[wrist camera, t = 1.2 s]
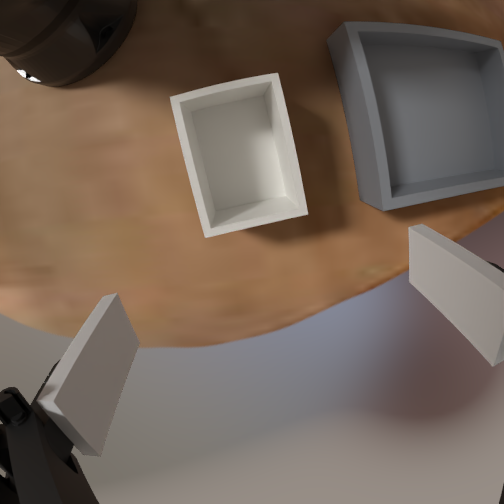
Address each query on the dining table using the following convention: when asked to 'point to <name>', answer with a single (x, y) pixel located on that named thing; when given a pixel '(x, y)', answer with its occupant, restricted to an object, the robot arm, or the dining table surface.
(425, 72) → the slate crate
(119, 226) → the dining table surface
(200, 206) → the white crate
